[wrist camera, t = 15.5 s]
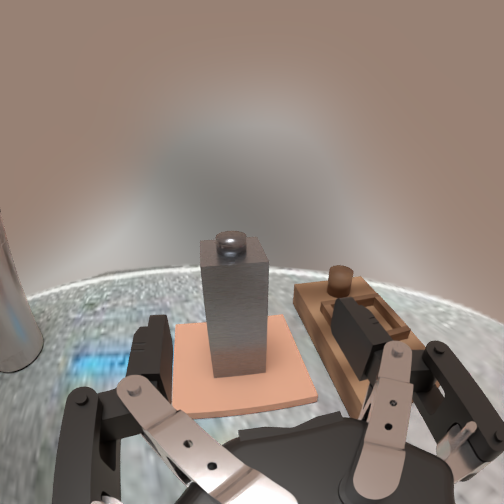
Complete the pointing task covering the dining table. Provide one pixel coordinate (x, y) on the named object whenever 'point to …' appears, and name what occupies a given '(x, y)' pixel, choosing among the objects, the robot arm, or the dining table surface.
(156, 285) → the dining table surface
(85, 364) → the dining table surface
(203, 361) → the coaster
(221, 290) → the grey square grinder
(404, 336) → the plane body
